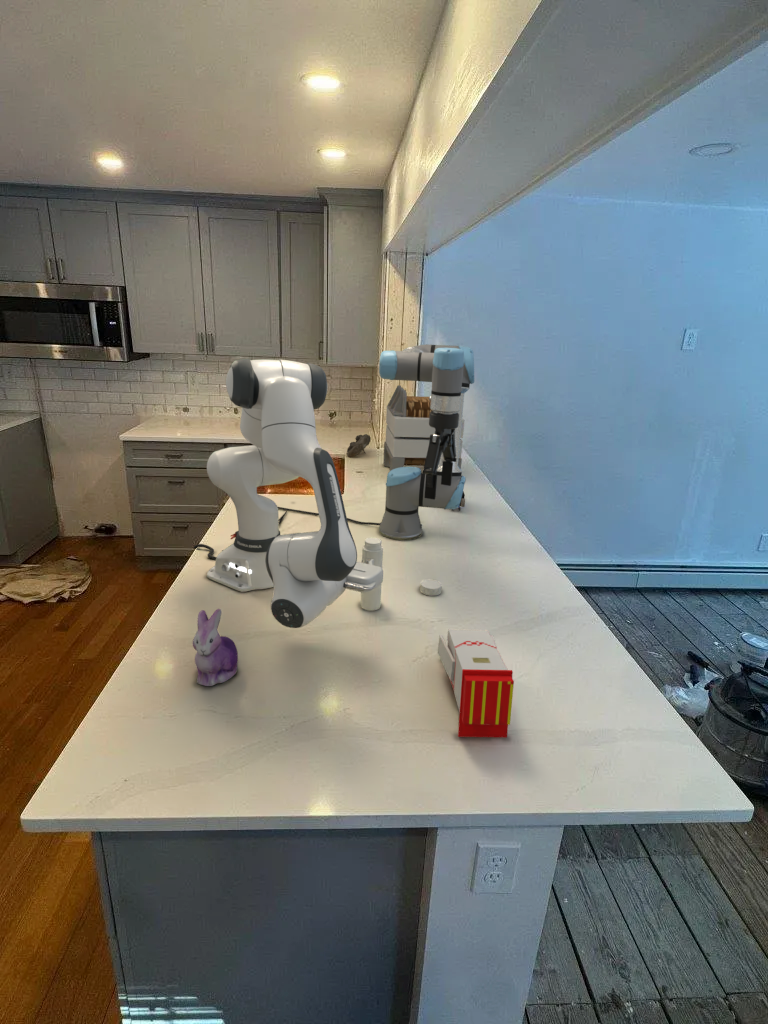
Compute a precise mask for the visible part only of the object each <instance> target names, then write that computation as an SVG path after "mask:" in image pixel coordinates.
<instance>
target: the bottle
mask: <svg viewBox="0 0 768 1024" xmlns="http://www.w3.org/2000/svg"><path fill="white" fill-rule="evenodd" d="M382 543H383V542H382V539H381V538H379V537H374V536H373V537H366V538H365V539H364V544H363V545H362V549H361V563H365V561H366V560H367V559H373V560H374V566H379V567H381V568H382V569H383V560H384V559H383V558H384V557H383V556H384V546H382ZM365 564H366V563H365ZM381 602H382V583H381V584H380V585H379V586H378V587H376V588H375V589H373V590H372V591H370V592H360V608H361V609H363V610H365V611H377V610H379V609H380V608H381Z"/></svg>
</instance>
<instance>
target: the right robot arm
mask: <svg viewBox="0 0 768 1024" xmlns="http://www.w3.org/2000/svg"><path fill="white" fill-rule="evenodd" d="M474 356H475V355H474V350H473V348H472V347H470V346H464V345H451V344H450V345H449V344H448V345H446V344H419V345H413V346H408V347H405V348H403V350H383V351H381V353H380V356H379V362H378V363H379V365H378V367H379V368H378V370H379V372H378V373H379V377H380V378H381V379H383V380H389V381H407V382H408V381H409V382H410V381H411V382H423V383H431V391H430V396H428V397H429V400H431V404H430V409H431V410H432V411H431V412H430V415H429V425H430V426H431V427H434V428H435V434H430V441H429V447H428V451H427V456H426V460H425V465H424V466H423V470H422V469H421V468H420V467H419V466H418V467H417V466H404V467H400V468H396V469H393V470H391V471H390V470H389V471H388V473H387V475H386V482H385V487H386V488H385V504H384V505H385V507H384V508H385V509H384V513H383V515H382V519H381V522H370V521H368V522H367V521H359V520H356V519H352V518H348V517H347V521H348V522H352V523H355V524H358V525H367V526H368V525H369V526H370V525H371V526H378V533H379V534H380V535H381V536H382V537H385V538H387V539H389V540H395V541H410V540H415V539H418V538H420V537H421V536H422V535H423V524H422V523H421V518H420V515H419V508H420V507H421V508H422V507H423V508H431V509H443V510H452V509H453V510H456V509H458V507H459V505H460V502H461V498H462V493H463V491H464V488H465V483H466V477H465V475H463V474H462V472H463V470H462V468H461V469H460V468H459V467H458V458H459V447H460V439H461V438H460V436H461V425H462V419H463V414H464V413H463V412H464V402H465V401H464V400H465V394H466V393H467V392H468V391H469V390H470V387H471V385H472V384H474V383H475V358H474ZM277 507H278V510H282V511H287V512H294V513H300V514H306V515H313V516H319V513H318V512H312V511H305V510H300V509H293V508H288V507H281V506H277Z"/></svg>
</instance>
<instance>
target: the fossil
mask: <svg viewBox="0 0 768 1024" xmlns="http://www.w3.org/2000/svg"><path fill="white" fill-rule="evenodd" d="M354 440H355V441H351V442H350V443H349V446H348V447H347V450H346V456H347V457H348V458H352V457H355V456H357V455H359V454H360V453H361V452H363V453H364V454H366V452H365V449H366V448H367V446H369V445H370V443H371V440H372V439H371V436H370V434H367V433H365V434H358V435H356V436H355V438H354Z"/></svg>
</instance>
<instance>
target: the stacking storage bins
mask: <svg viewBox="0 0 768 1024" xmlns="http://www.w3.org/2000/svg"><path fill="white" fill-rule="evenodd" d="M407 394H408V393H407V390H406V389H404V388H403V387H402V385H399V384H398V385H397V386H396V388H395V390H394V392H393V394H392V395H391V398H390V400H389V402H388V404H387V405H386V413H385V414H386V415H385V423H386V428H385V438H384V442H383V466H384V467H388V468H389V472H390V471H391V470H393V469H396V468H400V467H405V466H406V467H417V466H418V467H424V465H425V460H426V456H427V451H428V447H429V441H430V434H435V428H434V427H431V426H430V425H429V415H430V412H431V411H432V410H431V409H430V404H431V400H429V397H430V396H415V395H414V396H413V395H412V396H411V395H407ZM464 429H465V419H464V418H462V425H461V436H460V447H459V458H458V467H459V468H460V469H461V470H462V461H463V460H462V453H463V442H464V441H463V440H462V439H463V438H464V431H465V430H464Z"/></svg>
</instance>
